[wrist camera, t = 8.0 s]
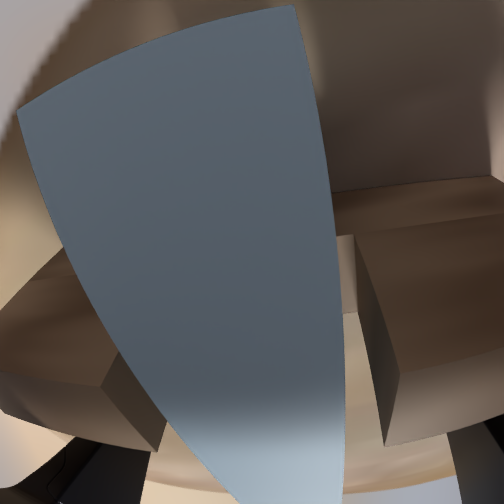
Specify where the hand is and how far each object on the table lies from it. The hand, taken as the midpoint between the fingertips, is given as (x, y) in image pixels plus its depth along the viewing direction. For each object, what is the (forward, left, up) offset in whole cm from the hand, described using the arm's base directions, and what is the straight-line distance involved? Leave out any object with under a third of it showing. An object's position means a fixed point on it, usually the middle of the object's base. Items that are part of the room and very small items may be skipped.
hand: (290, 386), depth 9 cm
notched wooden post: (0, -4, -2) cm, 4 cm away
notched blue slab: (0, -3, -2) cm, 4 cm away
